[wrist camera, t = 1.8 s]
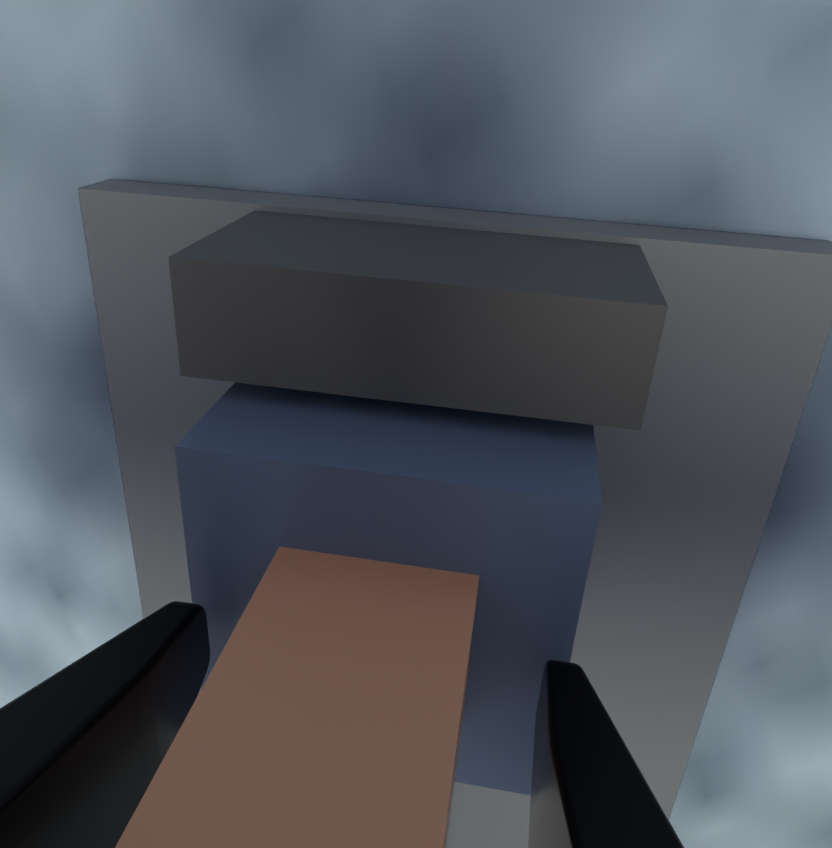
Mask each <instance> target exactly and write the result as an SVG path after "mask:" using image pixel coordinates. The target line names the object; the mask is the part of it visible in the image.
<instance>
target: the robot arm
mask: <svg viewBox="0 0 832 848" xmlns="http://www.w3.org/2000/svg"><path fill="white" fill-rule="evenodd" d="M209 661H210V644H209V634H208V624H207V615H206V611H205V609H204V607H203V606H201V605H199V604H194V603H187V602H181V601H173V602H170V603H168V604H166V605H165V606H163V607H162V608H160V609H158V610H157V611H155V612H154V613H152V614H150V615H149V616H147V617H146V618H144V619H142V620H141V621H139V622H138V623H136V624H134V625H133V626H131V627H130V628H128V629H126V630H125V631H123V632H122V633H120V634H118V635H117V636H115V637H114V638H112V639H110V640H109V641H107V642H106V643H104V644H102V645H101V646H99V647H98V648H96V649H94V650H93V651H91V652H90V653H88V654H86V655H85V656H83V657H82V658H80V659H78V660H77V661H75V662H74V663H72V664H70V665H69V666H67V667H66V668H64V669H62V670H61V671H59V672H58V673H56V674H54V675H53V676H51V677H50V678H48V679H46V680H45V681H43V682H42V683H40V684H38V685H37V686H35V687H34V688H32V689H30V690H29V691H27V692H26V693H24V694H23V695H21V696H19V697H18V698H16V699H15V700H13V701H11V702H10V703H8V704H7V705H5V706H3V707H2V708H0V848H115V847H116V845H117V843H118V841H119V839H120V838H121V836H122V834H123V832H124V830H125V828H126V827H127V825H128V823H129V821H130V819H131V817H132V816H133V814H134V812H135V810H136V808H137V806H138V805H139V803H140V801H141V799H142V797H143V795H144V794H145V792H146V790H147V788H148V786H149V784H150V783H151V781H152V779H153V777H154V775H155V773H156V772H157V770H158V768H159V766H160V764H161V762H162V761H163V759H164V757H165V755H166V753H167V751H168V750H169V748H170V746H171V744H172V742H173V740H174V739H175V737H176V735H177V733H178V731H179V729H180V728H181V726H182V724H183V722H184V720H185V718H186V717H187V715H188V713H189V711H190V709H191V707H192V706H193V704H194V702H195V700H196V698H197V696H198V694H199V691H200V688H201V686H202V683H203V680H204V678H205V675H206V672H207V670H208V666H209ZM528 848H684V847H683V845H682V843H681V841H680V840H679V838H678V836H677V834H676V833H675V831H674V829H673V827H672V826H671V824H670V822H669V820H668V818H667V817H666V815H665V813H664V811H663V810H662V808H661V806H660V804H659V803H658V801H657V799H656V797H655V796H654V794H653V792H652V790H651V788H650V787H649V785H648V783H647V781H646V780H645V778H644V776H643V774H642V773H641V771H640V769H639V767H638V766H637V764H636V762H635V760H634V758H633V757H632V755H631V753H630V751H629V750H628V748H627V746H626V744H625V743H624V741H623V739H622V737H621V736H620V734H619V732H618V730H617V728H616V727H615V725H614V723H613V721H612V720H611V718H610V716H609V714H608V713H607V711H606V709H605V707H604V706H603V704H602V702H601V700H600V699H599V697H598V695H597V693H596V691H595V690H594V688H593V686H592V684H591V683H590V681H589V679H588V677H587V676H586V674H585V672H584V670H583V669H582V667H581V666H580V665H578V664H576V663H570V662H564V661H558V660H549V661H547V662H546V663H545V667H544V671H543V677H542V682H541V688H540V693H539V699H538V705H537V711H536V720H535V734H534V751H533V767H532V784H531V801H530V817H529V840H528Z"/></svg>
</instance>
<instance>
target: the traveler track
mask: <svg viewBox="0 0 832 848" xmlns="http://www.w3.org/2000/svg"><path fill="white" fill-rule="evenodd" d="M78 193H79V200H80V206H81V213H82V219H83V226H84V232H85V239H86V245H87V252H88V259H89V265H90V272H91V278H92V285H93V291H94V298H95V304H96V311H97V317H98V324H99V330H100V337H101V344H102V350H103V357H104V363H105V370H106V376H107V383H108V389H109V396H110V402H111V409H112V416H113V422H114V429H115V435H116V442H117V448H118V455H119V461H120V468H121V474H122V481H123V487H124V494H125V501H126V507H127V514H128V520H129V527H130V533H131V540H132V546H133V553H134V559H135V566H136V572H137V579H138V586H139V592H140V599H141V605H142V612H143V618H146V617H147V616H149V615H150V614H152V613H154V612H155V611H157V610H158V609H160V608H162V607H163V606H165V605H166V604H168V603H170V602H173V601H181V602H187V603H192V599H191V590H190V581H189V572H188V563H187V554H186V545H185V536H184V527H183V518H182V509H181V500H180V491H179V483H178V474H177V465H176V456H175V447H174V446H175V445H176V444H177V443H178V442H179V441H180V440H181V439H182V438H183V437H184V436H185V435H186V434H187V433H188V432H189V431H190V430H191V428H192V427H193V426H194V425H195V424H196V423H197V422H198V421H199V420H200V419H201V418H202V417H203V416H204V415H205V414H206V413H207V412H208V411H209V409H210V408H211V407H212V406H213V405H214V404H215V403H216V402H217V401H218V400H219V399H220V398H221V397H222V396H223V395H224V394H225V393H226V392H227V391H228V389H229V388H230V387H231V386H232V385H233V384H234V383H235V382H236V383H244V384H253V385H261V386H270V387H278V388H286V389H295V390H303V391H312V392H320V393H329V394H337V395H345V396H354V397H362V398H371V399H379V400H388V401H396V402H404V403H413V404H421V405H430V406H438V407H447V408H455V409H463V410H472V411H480V412H489V413H497V414H506V415H514V416H522V417H531V418H539V419H548V420H556V421H565V422H573V423H581V424H590V425H593V427H594V436H595V444H596V453H597V462H598V470H599V479H600V487H601V496H602V506H601V511H600V516H599V521H598V526H597V531H596V536H595V541H594V546H593V551H592V556H591V561H590V565H589V570H588V575H587V580H586V585H585V590H584V595H583V600H582V605H581V610H580V615H579V620H578V625H577V630H576V635H575V640H574V645H573V650H572V655H571V659H570V663H576V664H578V665H580V666H581V667H582V669H583V670H584V672H585V674H586V676H587V677H588V679H589V681H590V683H591V684H592V686H593V688H594V690H595V691H596V693H597V695H598V697H599V699H600V700H601V702H602V704H603V706H604V707H605V709H606V711H607V713H608V714H609V716H610V718H611V720H612V721H613V723H614V725H615V727H616V728H617V730H618V732H619V734H620V736H621V737H622V739H623V741H624V743H625V744H626V746H627V748H628V750H629V751H630V753H631V755H632V757H633V758H634V760H635V762H636V764H637V766H638V767H639V769H640V771H641V773H642V774H643V776H644V778H645V780H646V781H647V783H648V785H649V787H650V788H651V790H652V792H653V794H654V796H655V797H656V799H657V801H658V803H659V804H660V806H661V808H662V810H663V811H664V813H665V815H666V817H667V818H668V820H669V817H670V814H671V811H672V808H673V805H674V802H675V799H676V795H677V792H678V789H679V786H680V783H681V780H682V777H683V774H684V771H685V768H686V765H687V762H688V759H689V756H690V753H691V750H692V747H693V744H694V741H695V738H696V735H697V732H698V729H699V726H700V723H701V720H702V717H703V713H704V710H705V707H706V704H707V701H708V698H709V695H710V692H711V689H712V686H713V683H714V680H715V677H716V674H717V671H718V668H719V665H720V662H721V659H722V656H723V653H724V650H725V647H726V644H727V641H728V638H729V635H730V632H731V628H732V625H733V622H734V619H735V616H736V613H737V610H738V607H739V604H740V601H741V598H742V595H743V592H744V589H745V586H746V583H747V580H748V577H749V574H750V571H751V568H752V565H753V562H754V559H755V556H756V553H757V550H758V546H759V543H760V540H761V537H762V534H763V531H764V528H765V525H766V522H767V519H768V516H769V513H770V510H771V507H772V504H773V501H774V498H775V495H776V492H777V489H778V486H779V483H780V480H781V477H782V474H783V471H784V468H785V465H786V461H787V458H788V455H789V452H790V449H791V446H792V443H793V440H794V437H795V434H796V431H797V428H798V425H799V422H800V419H801V416H802V413H803V410H804V407H805V404H806V401H807V398H808V395H809V392H810V389H811V386H812V383H813V379H814V376H815V373H816V370H817V367H818V364H819V361H820V358H821V355H822V352H823V349H824V346H825V343H826V340H827V337H828V334H829V331H830V328H831V325H832V242H831V241H823V240H811V239H800V238H788V237H776V236H765V235H753V234H742V233H730V232H719V231H707V230H695V229H684V228H672V227H661V226H649V225H637V224H626V223H614V222H603V221H591V220H580V219H568V218H556V217H545V216H533V215H522V214H510V213H498V212H487V211H475V210H464V209H452V208H441V207H429V206H417V205H406V204H394V203H383V202H371V201H359V200H348V199H336V198H325V197H313V196H302V195H290V194H278V193H267V192H255V191H244V190H232V189H220V188H209V187H197V186H186V185H174V184H163V183H151V182H139V181H128V180H116V179H108V180H105V181H101V182H98V183H94V184H91V185H88V186H84V187H81V188H78ZM201 689H202V688H200V691H201ZM200 691H199V693H200ZM198 695H199V694H198ZM530 801H531V795H525V794H520V793H514V792H509V791H503V790H497V789H492V788H486V787H481V786H475V785H469V784H464V783H458V782H454V789H453V796H452V804H451V812H450V819H449V827H448V834H447V842H446V848H528V840H529V817H530Z"/></svg>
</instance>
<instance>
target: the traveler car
mask: <svg viewBox="0 0 832 848" xmlns="http://www.w3.org/2000/svg"><path fill="white" fill-rule="evenodd" d="M174 447H175V456H176V465H177V474H178V483H179V491H180V500H181V509H182V518H183V527H184V536H185V545H186V554H187V563H188V572H189V581H190V590H191V599H192V603H194V604H199V605H201V606H203V607H204V609H205V611H206V615H207V624H208V634H209V644H210V661H209V666H208V670H207V672H206V675H205V678H204V680H203V683H202V686H201V688H202V689H201V691H200V693H199V695H198V696H197V698H196V700H195V702H194V704H193V706H192V707H191V709H190V711H189V713H188V715H187V717H186V718H185V720H184V722H183V724H182V726H181V728H180V729H179V731H178V733H177V735H176V737H175V739H174V740H173V742H172V744H171V746H170V748H169V750H168V751H167V753H166V755H165V757H164V759H163V761H162V762H161V764H160V766H159V768H158V770H157V772H156V773H155V775H154V777H153V779H152V781H151V783H150V784H149V786H148V788H147V790H146V792H145V794H144V795H143V797H142V799H141V801H140V803H139V805H138V806H137V808H136V810H135V812H134V814H133V816H132V817H131V819H130V821H129V823H128V825H127V827H126V828H125V830H124V832H123V834H122V836H121V838H120V839H119V841H118V843H117V845H116V847H115V848H446V842H447V834H448V827H449V819H450V812H451V804H452V796H453V789H454V782H458V783H464V784H469V785H475V786H481V787H486V788H492V789H497V790H503V791H509V792H514V793H520V794H525V795H531V784H532V767H533V751H534V734H535V720H536V711H537V705H538V699H539V693H540V688H541V682H542V677H543V671H544V667H545V663H546V662H547V661H549V660H558V661H564V662H570V659H571V655H572V650H573V645H574V640H575V635H576V630H577V625H578V620H579V615H580V610H581V605H582V600H583V595H584V590H585V585H586V580H587V575H588V570H589V565H590V561H591V556H592V551H593V546H594V541H595V536H596V531H597V526H598V521H599V516H600V511H601V506H602V496H601V487H600V479H599V470H598V462H597V453H596V444H595V436H594V427H593V425H590V424H581V423H573V422H565V421H556V420H548V419H539V418H531V417H522V416H514V415H506V414H497V413H489V412H480V411H472V410H463V409H455V408H447V407H438V406H430V405H421V404H413V403H404V402H396V401H388V400H379V399H371V398H362V397H354V396H345V395H337V394H329V393H320V392H312V391H303V390H295V389H286V388H278V387H270V386H261V385H253V384H244V383H236V382H235V383H234V384H233V385H232V386H231V387H230V388H229V389H228V391H227V392H226V393H225V394H224V395H223V396H222V397H221V398H220V399H219V400H218V401H217V402H216V403H215V404H214V405H213V406H212V407H211V408H210V409H209V411H208V412H207V413H206V414H205V415H204V416H203V417H202V418H201V419H200V420H199V421H198V422H197V423H196V424H195V425H194V426H193V427H192V428H191V430H190V431H189V432H188V433H187V434H186V435H185V436H184V437H183V438H182V439H181V440H180V441H179V442H178V443H177V444H176V445H175V446H174Z"/></svg>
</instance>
